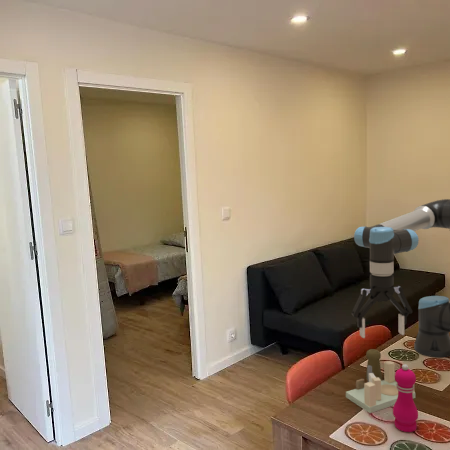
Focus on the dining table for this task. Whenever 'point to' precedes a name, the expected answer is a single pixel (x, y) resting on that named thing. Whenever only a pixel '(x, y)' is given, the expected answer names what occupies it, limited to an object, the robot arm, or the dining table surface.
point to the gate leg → (378, 385)
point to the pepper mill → (405, 400)
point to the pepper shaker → (374, 362)
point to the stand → (367, 391)
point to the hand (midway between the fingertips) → (381, 335)
